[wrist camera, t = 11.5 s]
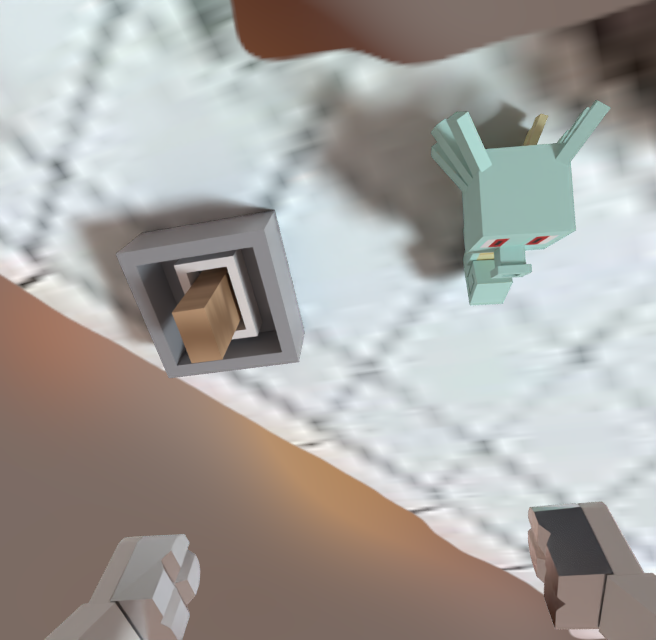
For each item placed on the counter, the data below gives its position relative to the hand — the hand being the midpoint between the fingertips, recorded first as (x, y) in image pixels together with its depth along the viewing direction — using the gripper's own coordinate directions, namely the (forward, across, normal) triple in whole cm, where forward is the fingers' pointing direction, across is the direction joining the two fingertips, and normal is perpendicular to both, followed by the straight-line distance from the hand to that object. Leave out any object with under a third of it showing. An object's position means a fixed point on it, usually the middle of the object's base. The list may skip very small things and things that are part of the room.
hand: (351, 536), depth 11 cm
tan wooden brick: (+30, +13, +6) cm, 33 cm away
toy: (+31, -10, +2) cm, 33 cm away
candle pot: (+31, +13, +6) cm, 34 cm away
